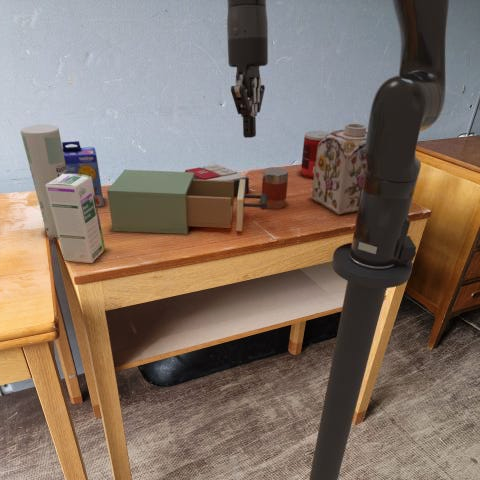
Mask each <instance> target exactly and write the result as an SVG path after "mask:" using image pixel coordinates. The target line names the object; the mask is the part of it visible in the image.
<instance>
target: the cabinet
mask: <svg viewBox="0 0 480 480" xmlns="http://www.w3.org/2000/svg"><path fill="white" fill-rule="evenodd" d="M193 179H195V178H194V172H185V171H169V170H167V171H166V170H142V169H141V170H140V169H124V170H123V171H121V174H120V175H119V176H118V177H117V178H116V179H115V181H114V182H113V183H112V184H111V185H110V187H108V189H107V190H106V193H107V200H108V207H109V213H110V219H111V225H112V231H113V232H129V233H131V232H132V233H154V234H173V235H174V234H176V235H177V234H178V235H188V232H189V229H190V227H191V226H187V208H186V195H187V192H188V190H189V188H190V185H191V183H192V180H193Z"/></svg>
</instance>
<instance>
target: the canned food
mask: <svg viewBox="0 0 480 480" xmlns="http://www.w3.org/2000/svg"><path fill="white" fill-rule="evenodd" d="M330 133H331V132H328V131H324V130H311V131H306V132H304V138H303V146H302V156H301V157H302V159H301V169H300V173H301V176H302V177H304V178H307V179H311V180H314V172H315V164H316V156H317V149H318V144H319V143H320V142H321V141H322V140H323V139H324V137H325V136H327V135H329V134H330Z"/></svg>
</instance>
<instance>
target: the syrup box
mask: <svg viewBox="0 0 480 480" xmlns="http://www.w3.org/2000/svg"><path fill="white" fill-rule="evenodd" d="M45 186H46V190H47V194H48V198H49V202H50V206H51V210H52V214H53V218H54V222H55V226H56V229H57V233H58V237H59V238H58V241H59V245H60V249H61V253H62V257H63V261H64V260H65V261H68V262H75V263H85V264H93V263H94V262H95V260H96V259H98V258H99V256H100V255H101V254H103V253H104V251H105V250H106V245H105V241H104V235H103V231H102V224H101V219H100V215H99V207H97V203H96V198H95V193H94V188H93V183H92V178H91V176H88V175H82V174H62V175H61V176H59V177H58V178H56V179H54V180H53V181H51V182H49V183H47V184H46V185H45Z"/></svg>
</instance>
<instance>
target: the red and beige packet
mask: <svg viewBox="0 0 480 480" xmlns="http://www.w3.org/2000/svg"><path fill="white" fill-rule="evenodd" d="M184 172H194V178H195V179H200V180H225V181H234V196H238V190H239V183H240V179H245V194H246V193H249V191H250V184H249V183H250V179H249V177H248V176H246V175H245V174H241V173H238V171H236V170H233V169H230V168H227V167H225V166H222V165H220V164H218V163H217V164H211V165H205V166H202V167H201V166H199V167H195V168H194V167H193V168H189V169H185V170H184Z"/></svg>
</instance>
